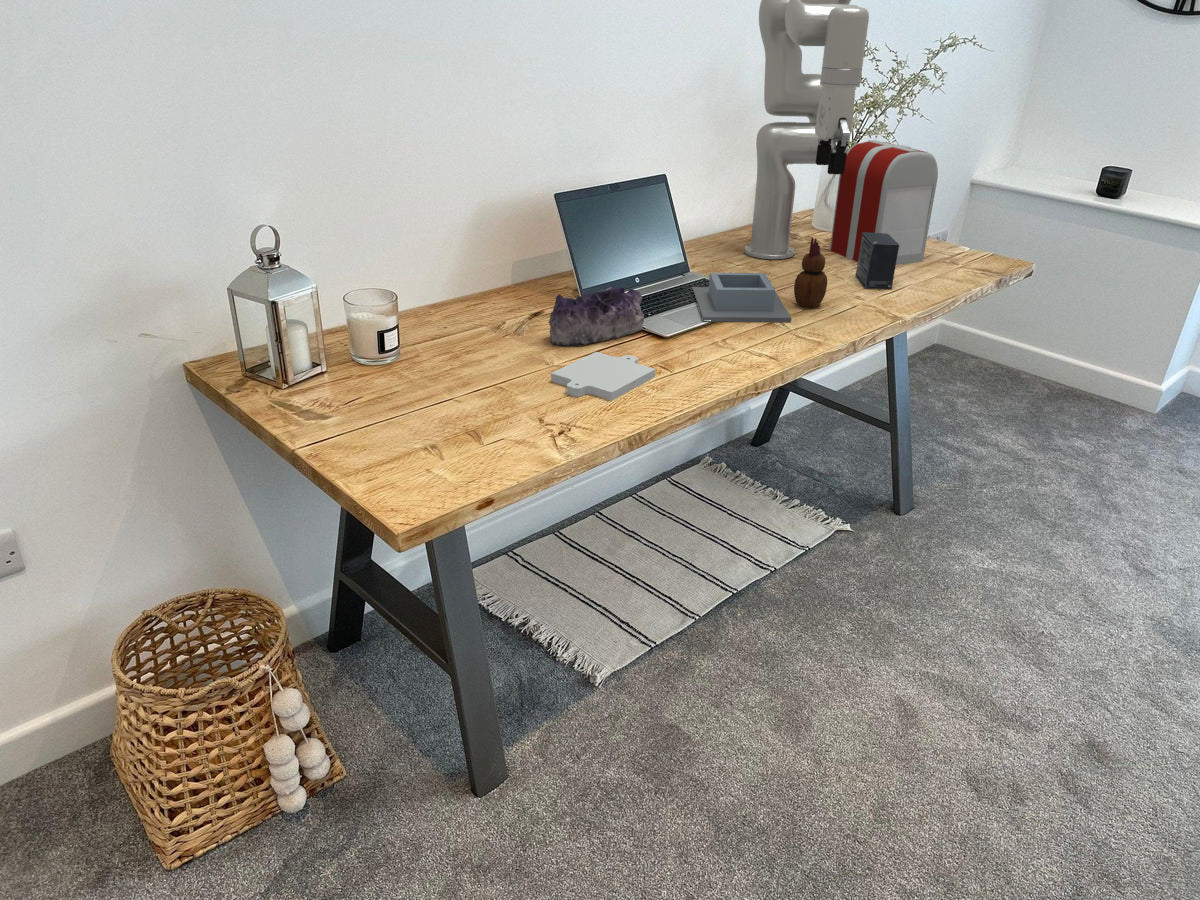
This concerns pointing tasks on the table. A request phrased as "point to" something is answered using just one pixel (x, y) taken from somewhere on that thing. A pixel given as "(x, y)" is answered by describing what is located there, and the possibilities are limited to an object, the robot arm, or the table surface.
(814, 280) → the wooden figurine
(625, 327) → the geode
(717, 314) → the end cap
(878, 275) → the small box
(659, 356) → the table surface
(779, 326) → the table surface
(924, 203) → the red striped mailbox
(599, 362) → the mounting plate
